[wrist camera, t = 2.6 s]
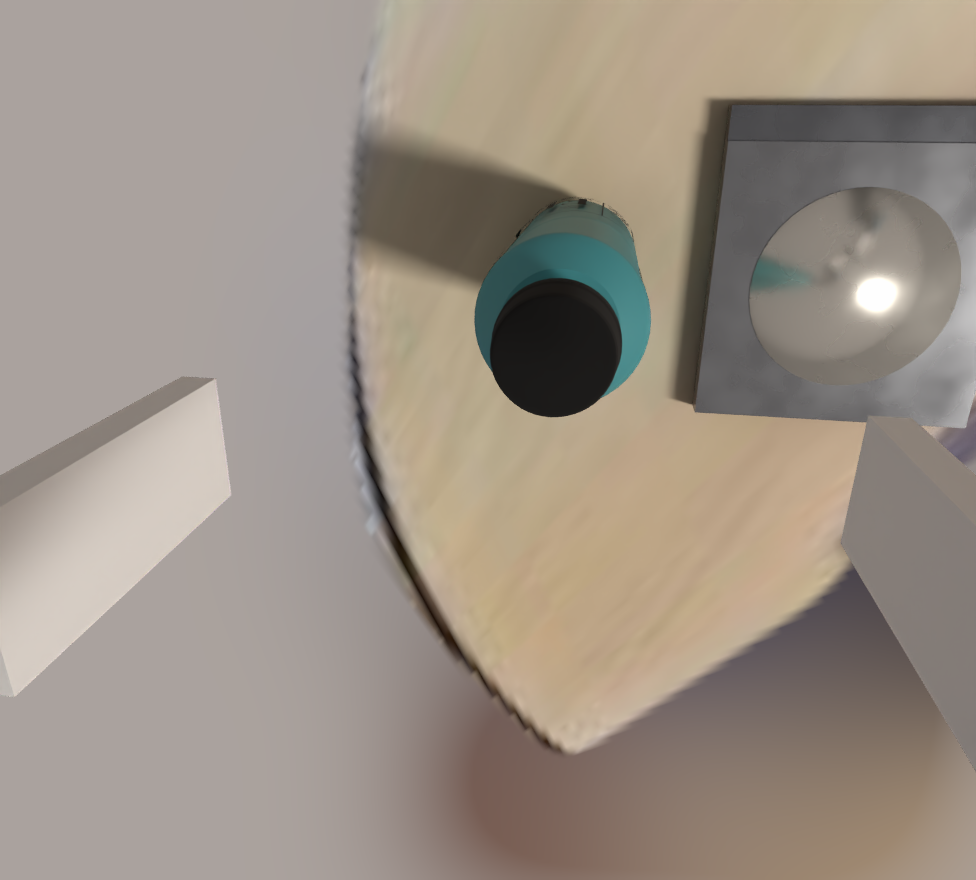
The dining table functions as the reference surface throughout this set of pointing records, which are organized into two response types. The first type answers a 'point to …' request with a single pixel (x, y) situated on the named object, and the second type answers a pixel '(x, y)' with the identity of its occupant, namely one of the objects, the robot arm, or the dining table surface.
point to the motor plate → (843, 265)
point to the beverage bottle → (564, 310)
